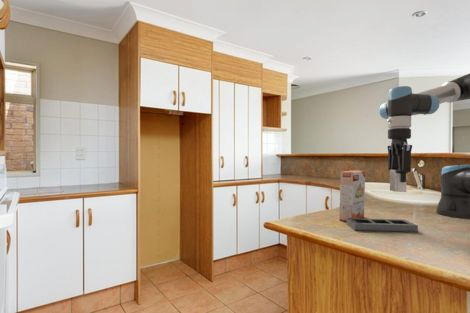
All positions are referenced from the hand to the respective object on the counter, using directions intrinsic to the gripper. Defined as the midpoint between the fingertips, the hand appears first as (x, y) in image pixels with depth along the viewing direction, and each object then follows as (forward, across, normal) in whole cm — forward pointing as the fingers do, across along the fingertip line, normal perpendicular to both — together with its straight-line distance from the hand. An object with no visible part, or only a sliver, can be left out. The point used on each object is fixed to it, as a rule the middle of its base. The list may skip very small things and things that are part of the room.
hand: (398, 190), depth 102 cm
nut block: (0, 0, 0) cm, 0 cm away
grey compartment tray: (+15, 0, -6) cm, 16 cm away
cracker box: (+15, -14, -12) cm, 24 cm away
